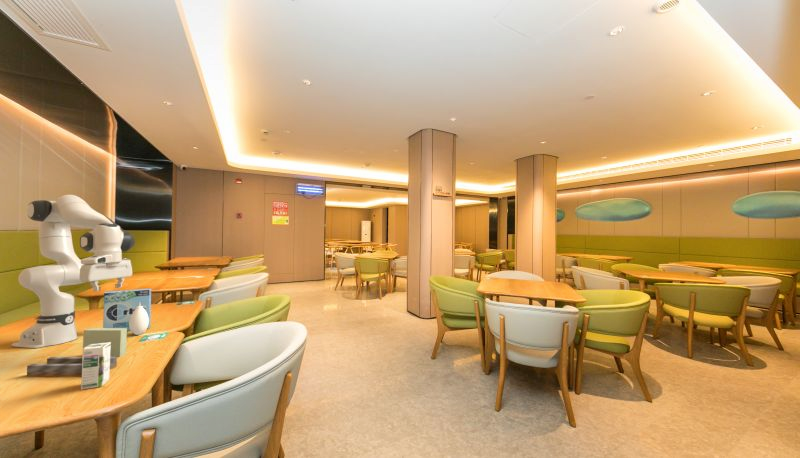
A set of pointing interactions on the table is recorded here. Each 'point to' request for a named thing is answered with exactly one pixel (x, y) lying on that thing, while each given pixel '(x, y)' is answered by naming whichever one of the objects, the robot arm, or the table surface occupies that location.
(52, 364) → the track
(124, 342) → the door panel
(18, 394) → the table surface
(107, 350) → the syrup box
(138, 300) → the gum box
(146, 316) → the white air blower bulb
